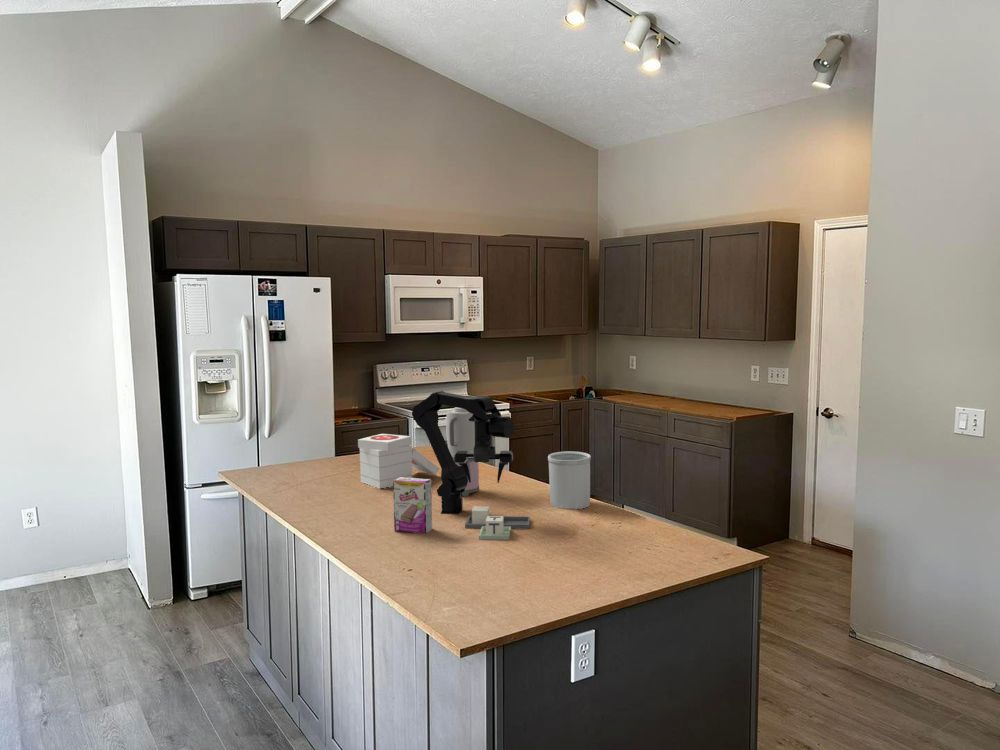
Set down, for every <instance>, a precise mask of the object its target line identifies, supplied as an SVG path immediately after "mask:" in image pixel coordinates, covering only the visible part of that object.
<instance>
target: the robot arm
mask: <svg viewBox="0 0 1000 750" xmlns="http://www.w3.org/2000/svg"><path fill="white" fill-rule="evenodd" d="M443 406H447V407H448V406H449V407H453V408H455V407H457V408H462V409H465V410H467V411H468V412H469V413H471V414H473V415H472V417H471V418H469V421H474V431H475V446H474V454H468V451H457V452H456V454H455V455H454V460H453V458H452V455H451V453H450V451H449V449H448V444H447V441H446V439H445V438H444V435H443V433H442V431H441V428H440V426H439V414H438V412H439V410H441V409H442V407H443ZM412 408H413V409H412V411H411V416H412V418H413V420H414V422H415V423H416V425H417V426H418V427H420V428H421V429H422V430H423V431H424V432H425V435H426V437H427V439H428V442H429V444H430V446H431V448H432V451H433V453H434V455H435V457H436V460H437V462H438V463H439V467H440V469H441V471H440V472H441V473H440V479H441V482H442V483H441V485H440V486H439V487H438V488H437V489H436V493H437V496H438V497H441V512H440V514H441V515H460V514H461V513H462V512H463V510H464V504H463V503H464V500H463V499H464V498H463V496H462V493H463V492H464V491H465V487H466V486H467V483H468V480H469V483H471V472H470V462H469V460H468V459H474V462H477V463H489V462H490V460H499V463H498V469H497V470H498V471H497V484H499V483H500V479H501V476H502V473H503V470H504V468H505V466H507V465H509V463H512V462H513V460H514V454H513V451H512V450H500V453H496V446H493V438H495V437H496V438H502V439H504V438H505V439H510V438H512V437H513V435H514V431H515V426H514V423H513V421H512V420H511V417H510V416H502V414H501V413H500V411H499V409H498V408H497V406H496V404H495V402H494V400H493V398H492V396H489V395H484V396H483V395H480V396H465V395H461V394H456V393H451V392H450V393H449V392H447V391H446V392H445V391H443V390H440V391H434V392H432V393H430V395H429V396H428V397H426V398H425V399H423V400H422V401H421V402H420V403H419V402H418V404H415V406H413V407H412ZM455 462H459V463H458V464H459V465H461V466H458V465H457V464H456V463H455ZM467 477H468V478H467Z"/></svg>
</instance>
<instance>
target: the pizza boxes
mask: <svg viewBox="0 0 1000 750" xmlns="http://www.w3.org/2000/svg"><path fill="white" fill-rule="evenodd" d="M357 448H358V449H359V466H360V467H359V470H360V471H359V473H360V483H361V482H363V483H366V484H368V485H367V486H369V485H371V486H370V487H372V486H374V487H373V488H375V487H377V488H384V489H387V488H386V487H389V488H392V487H391V486H393V480H394V479H397V478H399V477H408V478H413V469H415V470H418V471H420V472H424V473H427V474H430V475H435V476H436V475H437V473H438V472H439V470H440V468H439V467H438V466H437V465H436V464H434V463H433V462H432V461H431V460H429V459H428V458H427V457H426V456H424V455H423V454H422V453H421V452H419V451H418V450H417V449H415V448H412V436H411V435H402V434H392V433H391V434H389V433H380V434H375V435H371V436H367V437H363V438H360V439H359V438H358V439H357ZM363 483H362V484H363ZM366 484H365V485H366ZM377 488H376V489H377Z"/></svg>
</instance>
